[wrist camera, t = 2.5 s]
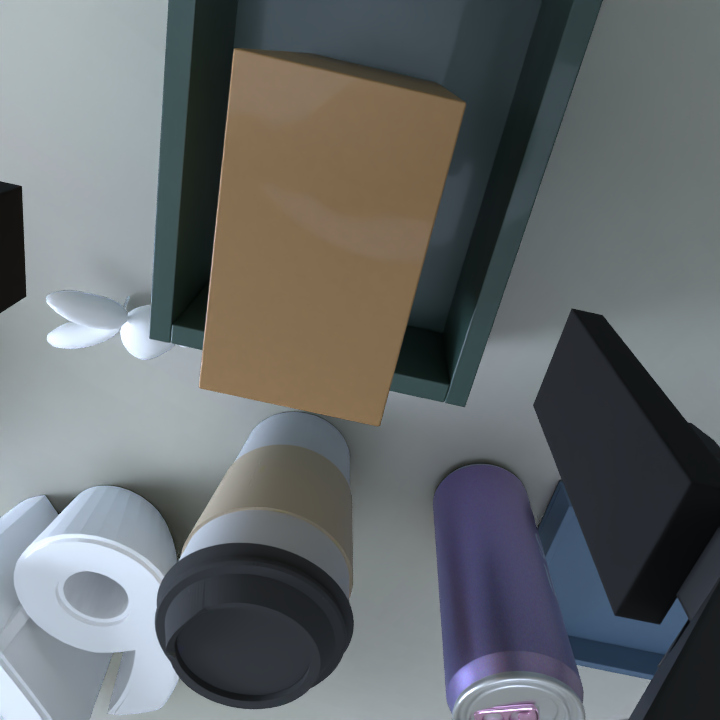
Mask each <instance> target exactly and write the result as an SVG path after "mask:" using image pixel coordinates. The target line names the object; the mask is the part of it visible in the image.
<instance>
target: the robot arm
mask: <svg viewBox="0 0 720 720" xmlns="http://www.w3.org/2000/svg"><path fill="white" fill-rule="evenodd" d="M25 297H26V275H25V251H24V227H23V203H22V186H19V185H14V184H10V183H5V182H1V181H0V313H1V312H3V311H4V310H6V309H7V308H9V307H11V306H12V305H14V304H15V303H17V302H18V301H20V300H21V299H23V298H25ZM533 406H534V409H535V411H536V414H537V416H538V419H539V422H540V424H541V427H542V429H543V432H544V434H545V437H546V440H547V442H548V445H549V447H550V450H551V453H552V455H553V458H554V460H555V463H556V465H557V468H558V471H559V473H560V476H561V478H562V481H563V484H564V486H565V489H566V491H567V494H568V497H569V499H570V502H571V504H572V507H573V509H574V512H575V515H576V517H577V520H578V522H579V525H580V528H581V530H582V533H583V535H584V538H585V540H586V543H587V546H588V548H589V551H590V553H591V556H592V559H593V561H594V564H595V566H596V569H597V572H598V574H599V577H600V579H601V582H602V584H603V587H604V590H605V592H606V595H607V597H608V600H609V603H610V605H611V608H612V610H613V613H614V615H615V616H619V617H624V618H629V619H634V620H639V621H644V622H649V623H653V624H658V625H660V624H661V623H662V621H663V619H664V618H665V616H666V615H667V613H668V611H669V610H670V608H671V607H672V605H673V604H674V602H675V600H676V599H677V598H678V599H679V601H680V603H681V605H682V607H683V609H684V611H685V613H686V615H687V617H688V620H687V622H686V623H685V625H684V626H683V628H682V629H681V631H680V632H679V634H678V635H677V637H676V638H675V640H674V641H673V643H672V644H671V646H670V647H669V649H668V650H667V652H666V653H665V655H664V657H663V658H662V660H661V661H660V663H659V664H658V666H657V667H658V670H657V671H656V673H655V675H654V677H653V678H652V680H651V682H650V683H649V685H648V687H647V689H646V690H645V692H644V694H643V696H642V697H641V699H640V701H639V702H638V704H637V706H636V708H635V709H634V711H633V713H632V714H631V716H630V718H629V720H720V447H719V446H718V445H717V444H716V442H715V441H714V440H713V439H711V438H710V437H709V436H708V435H706V434H705V433H704V432H702V431H701V430H700V429H698V428H697V427H696V426H694V425H693V424H692V423H688V422H687V421H686V420H685V419H684V417H683V416H682V415H681V414H680V412H679V411H678V410H677V409H676V407H675V406H674V405H673V404H672V402H671V401H670V400H669V398H668V397H667V396H666V395H665V393H664V392H663V391H662V390H661V388H660V387H659V386H658V385H657V383H656V382H655V381H654V380H653V378H652V377H651V376H650V374H649V373H648V372H647V371H646V369H645V368H644V367H643V366H642V364H641V363H640V362H639V361H638V359H637V358H636V357H635V356H634V354H633V353H632V352H631V351H630V349H629V348H628V347H627V345H626V344H625V343H624V342H623V340H622V339H621V338H620V337H619V335H618V334H617V333H616V332H615V330H614V329H613V328H612V327H611V325H610V324H609V323H608V322H607V320H606V319H605V318H604V316H603V315H599V314H594V313H590V312H585V311H581V310H576V309H571V312H570V314H569V317H568V319H567V322H566V324H565V327H564V329H563V332H562V334H561V337H560V339H559V342H558V344H557V347H556V349H555V352H554V354H553V357H552V359H551V362H550V364H549V367H548V369H547V372H546V374H545V377H544V379H543V382H542V385H541V387H540V390H539V392H538V395H537V397H536V400H535V402H534V405H533Z"/></svg>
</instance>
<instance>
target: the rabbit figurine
mask: <svg viewBox="0 0 720 720" xmlns="http://www.w3.org/2000/svg"><path fill="white" fill-rule="evenodd" d="M129 298H130V296H128V297H127V298H126V301H125V303H124V306H122V305H121V304H120V303H118V302H117V301H115V300H112V299H110V298H107V297H103V296H99V295H95V294H91V293H85V292H81V291H74V290H63V291H58V292H53V293H50V294H49V295H48V296H47V297H46V301H47V303H48V305H49V306H50V307H51V308H53V309H54V310H55V311H56V312H57V313H58V314H60V315H61V316H62V317H64V318H66V319H67V320H69V321H71V322H68V323H65V324H63V325H61V326H59V327H57V328H55V329H54V330H53V331H52V332H50V333H49V334H48V336H47V341H48V342H49V343H50V344H51V345H53V346H54V347H57V348H64V349H79V348H83V347H85V348H86V347H88V346H89V347H90V346H92V345H96V344H99V343H101V342H104V341H106V340H108V339H110V338H111V337H113V336H114V335H115V334H116V333H117V332H119V331H120V333H121V339H122V342H123V344H124V346H125V347H126V349H127V350H128V351H129V352H130V353H131V354H132V355H134V356H135V357H137V358H139V359H143V360H148V359H153V358H156V357H158V356H159V355H161V354H163V353H165V352H167V351H169V350H170V349H171V348H172V347H174V345H175V344H172V343H171V342H170V343H166V342H162V341H157V340H152V339H149V328H150V311H151V304H150V305H144V306H140V307H137V308H135V309H133V310H132V311H130V312H129V313H128V312H127V311H126V309H125V308H126V305H127V303H128V300H129ZM179 346H181V347H186V346H182V345H179Z"/></svg>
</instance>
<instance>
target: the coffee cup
mask: <svg viewBox="0 0 720 720" xmlns="http://www.w3.org/2000/svg"><path fill="white" fill-rule="evenodd" d="M352 587H353V542H352V495H351V490H350V454H349V449H348V446H347V443H346V441H345V439H344V438H343V436H342V435H341V433H340V432H339V431H338V430H337V429H336V428H335V427H334V426H333V425H332V424H330V423H329V422H327V421H326V420H324V419H322V418H320V417H318V416H315V415H312V414H308V413H303V412H285V413H280V414H276V415H273V416H271V417H269V418H267V419H265V420H263V421H262V422H261V423H259V424H258V425H257V426H256V427H255V428H254V429H253V431H252V432H251V434H250V435H249V437H248V439H247V441H246V442H245V444H244V446H243V448H242V450H241V451H240V453H239V455H238V457H237V458H236V460H235V462H234V463H233V464H232V465H231V467H230V468H229V469H228V471H227V473H226V474H225V476H224V478H223V479H222V481H221V483H220V484H219V486H218V488H217V489H216V491H215V493H214V494H213V496H212V498H211V499H210V501H209V503H208V504H207V506H206V508H205V510H204V511H203V513H202V515H201V516H200V518H199V520H198V521H197V523H196V525H195V526H194V528H193V530H192V531H191V533H190V535H189V536H188V538H187V540H186V542H185V544H184V546H183V549H182V553H181V557H180V559H179V561H178V562H177V563H176V564H175V565H173V566H172V567H171V569H170V570H169V571H168V572H167V573H166V575H165V576H164V578H163V580H162V582H161V584H160V586H159V590H158V594H157V609H156V613H155V631H156V635H157V639H158V641H159V644H160V646H161V648H162V650H163V652H164V654H165V655H166V657H167V658H168V659H169V661H170V662H171V664H172V667H173V669H174V670H175V672H176V674H177V675H178V676H179V678H180V679H181V680H182V681H183V682H184V683H185V684H186V685H187V686H188V687H190V688H191V689H192V690H193V691H195V692H196V693H198V694H200V695H201V696H203V697H205V698H207V699H209V700H211V701H214V702H217V703H219V704H223V705H226V706H230V707H236V708H243V709H265V708H272V707H277V706H281V705H284V704H287V703H289V702H292V701H294V700H296V699H297V698H299V697H301V696H302V695H303V694H305V693H306V692H307V691H308V690H309V689H310V688H312V687H314V686H316V685H317V684H319V683H320V682H321V681H323V680H324V679H325V678H327V677H328V676H329V675H330V674H331V673H332V672H333V671H334V669H335V668H336V667H337V665H338V664H339V662H340V660H341V658H342V656H343V654H344V652H345V651H346V649H347V647H348V646H349V643H350V641H351V638H352V634H353V627H354V620H353V613H352V609H351V606H350V603H349V598H350V595H351V592H352Z"/></svg>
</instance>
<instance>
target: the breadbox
mask: <svg viewBox="0 0 720 720" xmlns="http://www.w3.org/2000/svg"><path fill="white" fill-rule="evenodd" d="M602 1H603V0H169V2H168V19H167V36H166V53H165V71H164V88H163V105H162V122H161V139H160V156H159V174H158V191H157V208H156V225H155V242H154V259H153V276H152V294H151V311H150V328H149V339H152V340H157V341H162V342H166V343H170V342H171V343H172V344H177V345H182V346H186V347H191V348H195V349H200V350H203V342H204V332H205V323H206V313H207V303H208V294H209V284H210V274H211V265H212V255H213V245H214V236H215V226H216V217H217V207H218V197H219V188H220V178H221V168H222V159H223V149H224V139H225V130H226V120H227V111H228V101H229V91H230V82H231V72H232V62H233V53H234V49H235V48H246V49H259V50H273V51H287V52H301V53H313V54H317V55H321V56H325V57H330V58H334V59H338V60H342V61H347V62H351V63H355V64H359V65H363V66H368V67H372V68H376V69H380V70H385V71H389V72H393V73H397V74H402V75H406V76H410V77H414V78H418V79H423V80H427V81H431V82H435V83H438V84H440V85H441V86H442V87H444V88H445V89H447V90H448V91H450V92H451V93H453V94H454V95H456V96H457V97H459V98H460V99H462V100H463V101H465V102H466V108H465V111H464V115H463V119H462V122H461V126H460V130H459V134H458V137H457V141H456V145H455V148H454V152H453V156H452V160H451V163H450V167H449V171H448V175H447V178H446V182H445V186H444V189H443V193H442V197H441V201H440V204H439V208H438V212H437V215H436V219H435V223H434V227H433V230H432V234H431V238H430V241H429V245H428V249H427V253H426V256H425V260H424V264H423V268H422V271H421V275H420V279H419V282H418V286H417V290H416V294H415V297H414V301H413V305H412V308H411V312H410V316H409V320H408V323H407V327H406V331H405V334H404V338H403V342H402V346H401V349H400V353H399V357H398V361H397V364H396V368H395V372H394V375H393V379H392V383H391V387H390V390H389V391H394V392H398V393H403V394H408V395H412V396H417V397H421V398H426V399H431V400H435V401H440V402H444V401H445V403H448V404H453V405H458V406H462V407H465V405H466V402H467V400H468V397H469V394H470V391H471V388H472V385H473V382H474V379H475V376H476V373H477V370H478V367H479V364H480V361H481V358H482V355H483V352H484V349H485V346H486V343H487V341H488V338H489V335H490V332H491V329H492V326H493V323H494V320H495V317H496V314H497V311H498V308H499V305H500V302H501V299H502V296H503V293H504V290H505V287H506V284H507V282H508V279H509V276H510V273H511V270H512V267H513V264H514V261H515V258H516V255H517V252H518V249H519V246H520V243H521V240H522V237H523V234H524V231H525V228H526V225H527V222H528V220H529V217H530V214H531V211H532V208H533V205H534V202H535V199H536V196H537V193H538V190H539V187H540V184H541V181H542V178H543V175H544V172H545V169H546V166H547V163H548V161H549V158H550V155H551V152H552V149H553V146H554V143H555V140H556V137H557V134H558V131H559V128H560V125H561V122H562V119H563V116H564V113H565V110H566V107H567V104H568V102H569V99H570V96H571V93H572V90H573V87H574V84H575V81H576V78H577V75H578V72H579V69H580V66H581V63H582V60H583V57H584V54H585V51H586V48H587V45H588V43H589V40H590V37H591V34H592V31H593V28H594V25H595V22H596V19H597V16H598V13H599V10H600V7H601V4H602Z"/></svg>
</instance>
